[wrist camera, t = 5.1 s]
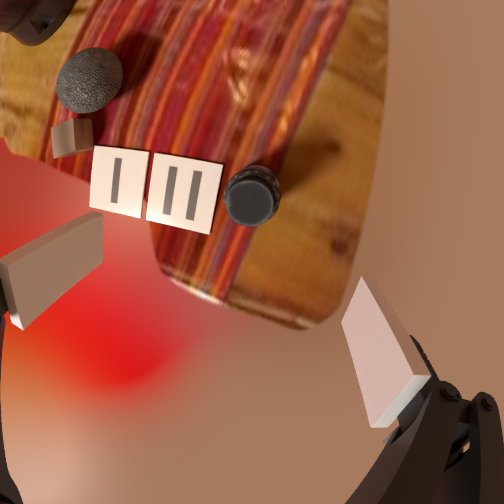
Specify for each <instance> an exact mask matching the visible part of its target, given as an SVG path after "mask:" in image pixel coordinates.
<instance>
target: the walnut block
mask: <svg viewBox="0 0 504 504" xmlns="http://www.w3.org/2000/svg"><path fill="white" fill-rule="evenodd" d="M51 135H52V148H53V157H54V158H60V157H66V156H73V155H76V154H79V153H82V152H85V151H88V150H91V149H94V141H93V129H92V119H81V118H72V119H70V120H68V121H65V122H63V123H61V124H59V125H56V126H54V127H52V128H51Z"/></svg>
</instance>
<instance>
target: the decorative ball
mask: <svg viewBox="0 0 504 504" xmlns="http://www.w3.org/2000/svg"><path fill="white" fill-rule="evenodd" d="M122 80H123V69H122V65H121V62H120V60H119V59H118V57H117V56H116V55H115V54H114V53H113V52H111V51H109V50H107V49H104V48H98V47H94V48H88V49H84V50H82V51H80V52H78V53H76V54H75V55H73V56H72V57H71V58H70V59H69V60H68V61H67V62H66V63H65V64H64V65H63V67H62V69H61V70H60V72H59V75H58V78H57V84H56V89H57V95H58V98H59V100H60V102H61V103H62V104H63V105H64V106H65V107H66V108H67V109H69V110H71V111H73V112H76V113H90V112H94V111H97V110H99V109H101V108H103V107H104V106H106V105H107V104H108V103H109V102H110V101H111V100H112V99H113V98H114V97H115V96H116V94H117V93H118V91H119V89H120V87H121V84H122Z"/></svg>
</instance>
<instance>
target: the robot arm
mask: <svg viewBox="0 0 504 504" xmlns="http://www.w3.org/2000/svg"><path fill="white" fill-rule="evenodd" d="M73 3H74V0H0V32H6V33H9V34H10V35H12V36H13V37H14V38H15V39H16V40H18V41H19V42H20V43H21V44H23V45H27V46H37V45H39V44H41V43H42V42H44V41H45V40H47V39H48V38H49V37H50V36H51V35H52V34H53V33H54V32H55V31H56V30H57V29H58V28H59V26H60V25H61V24H62V22H63V21H64V20H65V18H66V16H67V15H68V13H69V11H70V9H71V7H72V5H73ZM102 262H103V214H102V213H97V212H93V211H92V212H89V213H87V214H85V215H83V216H81V217H79V218H76V219H74V220H72V221H70V222H68V223H66V224H64V225H62V226H60V227H58V228H56V229H54V230H52V231H50V232H48V233H46V234H44V235H42V236H40V237H38V238H36V239H34V240H33V241H31V242H29V243H27V244H25V245H23V246H21V247H20V248H18V249H16V250H14V251H12V252H11V253H9V254H7V255H6V256H4V257H2V258H0V377H1V358H2V347H3V337H4V330H5V317H4V314H5V313H6V312H7V311H9V314H10V318H11V321H12V323H13V324H15V325H16V326H18V327H19V328H21V329H22V330H24V329H25V328H26V327H27V326H28V325H29V324H30V323H31V322H32V321H33V320H35V319H36V318H37V317H38V316H39V315H40V314H41V313H42V312H43V311H45V310H46V309H47V308H48V307H49V306H50V305H51V304H53V303H54V302H55V301H56V300H57V299H58V298H59V297H61V296H62V295H63V294H64V293H65V292H66V291H68V290H69V289H70V288H71V287H73V286H74V285H75V284H76V283H77V282H78V281H80V280H81V279H82V278H83V277H85V276H86V275H87V274H88V273H90V272H91V271H92V270H93V269H95V268H96V267H97V266H98V265H100V264H101V263H102ZM341 323H342V326H343V329H344V332H345V336H346V339H347V342H348V345H349V348H350V352H351V356H352V359H353V362H354V366H355V369H356V373H357V377H358V380H359V384H360V388H361V391H362V395H363V399H364V403H365V407H366V411H367V415H368V419H369V423H370V427H388V426H389V425H390V424H391V423H392V422H393V421H394V420H395V419H396V418H398V421H399V426H398V427H397V428H396V429H395V430H394V431H393V432H392V433H391V434H390V435H389V436H388V437H387V438H386V439H385V440H384V441H383V442H384V443H385V442H386V441H388V442H387V444H386V446H385V447H384V449H383V451H382V452H381V454H380V455H379V457H378V459H377V460H376V462H375V463H374V465H373V466H372V468H371V469H370V471H369V472H368V474H367V475H366V477H365V478H364V479H363V481H362V482H361V483H360V485H359V486H358V488H357V489H356V490H355V491H354V493H353V494H352V495H351V497H350V498H349V499H348V500H347V502H346V503H345V504H504V443H503V435H502V427H501V421H500V415H499V410H498V406H497V403H496V402H495V400H494V398H493V397H491V395H490V394H487V393H485V392H479V393H478V394H477V395H476V396H475V397H474V398H473V399H472V401H469V400H465V399H462V397H461V395H460V392H459V391H458V390H457V388H456V387H454V386H453V385H452V384H451V383H448V382H446V381H440V380H439V378H438V377H437V374H436V373H435V371H434V369H433V367H432V365H431V364H430V362H429V360H427V356H426V355H425V353H423V349H422V347H421V346H420V344H419V343H418V342H417V341H416V339H414V337H412V336H411V335H409V334H408V332H407V330H406V329H405V327H404V325H403V324H402V322H401V320H400V319H399V317H398V315H397V314H396V312H395V310H394V309H393V307H392V305H391V304H390V302H389V301H388V299H387V298H386V296H385V294H384V293H383V291H382V290H381V288H380V287H379V285H378V283H377V282H376V280H375V279H371V278H367V277H363V276H361V279H360V281H359V283H358V286H357V288H356V290H355V293H354V295H353V298H352V300H351V302H350V304H349V307H348V309H347V311H346V313H345V316H344V318H343V320H342V322H341ZM0 379H1V378H0ZM469 442H470V446H469V449H468V450H467V451H466V452H463V447H464V446H465V445H466V444H467V443H469ZM0 504H23V502H22V498H21V496H20V493H19V491H18V488H17V486H16V485H15V483H14V481H13V480H12V478H11V476H10V474H9V472H8V468H7V463H6V457H5V450H4V443H3V434H2V423H1V404H0Z"/></svg>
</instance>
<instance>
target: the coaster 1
mask: <svg viewBox="0 0 504 504" xmlns="http://www.w3.org/2000/svg"><path fill="white" fill-rule="evenodd" d="M149 155H150V152H146V151H138V150H131V149H123V148H114V147H104V146H95V148H94V156H93V165H92V175H91V188H90V207H94V208H98V209H102V210H106V211H111V212H115V213H120V214H124V215H128V216H133V217H137V218H141V217H142V206H143V198H144V190H145V182H146V174H147V167H148V161H149Z"/></svg>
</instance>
